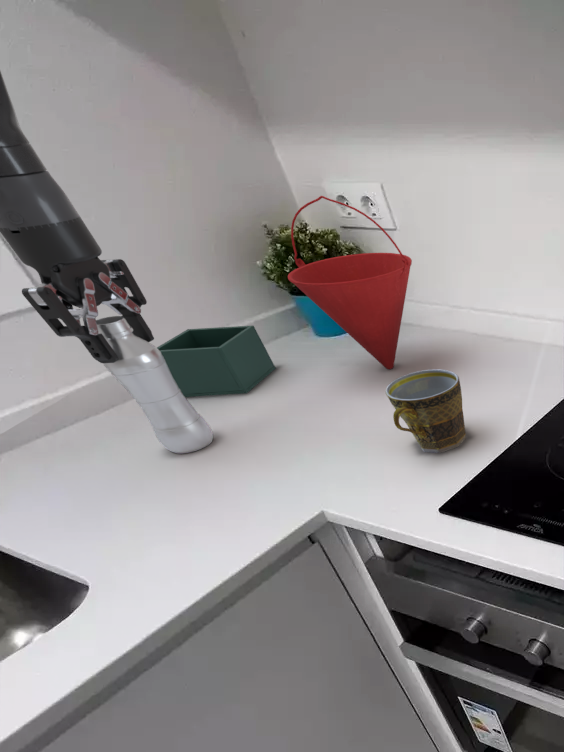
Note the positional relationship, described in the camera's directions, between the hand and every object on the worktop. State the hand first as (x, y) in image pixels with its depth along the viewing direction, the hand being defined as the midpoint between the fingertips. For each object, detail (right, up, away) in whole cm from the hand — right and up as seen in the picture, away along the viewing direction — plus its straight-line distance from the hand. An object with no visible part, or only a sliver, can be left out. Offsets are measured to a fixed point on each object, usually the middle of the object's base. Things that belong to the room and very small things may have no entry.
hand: (128, 351), depth 76 cm
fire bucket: (+20, +5, +31) cm, 37 cm away
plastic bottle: (0, -12, +10) cm, 16 cm away
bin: (-9, +2, +28) cm, 29 cm away
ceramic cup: (+40, -13, +8) cm, 42 cm away
